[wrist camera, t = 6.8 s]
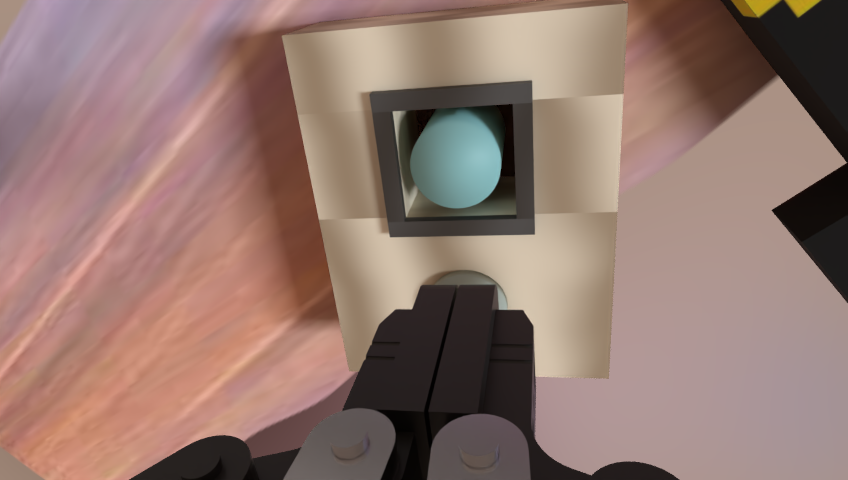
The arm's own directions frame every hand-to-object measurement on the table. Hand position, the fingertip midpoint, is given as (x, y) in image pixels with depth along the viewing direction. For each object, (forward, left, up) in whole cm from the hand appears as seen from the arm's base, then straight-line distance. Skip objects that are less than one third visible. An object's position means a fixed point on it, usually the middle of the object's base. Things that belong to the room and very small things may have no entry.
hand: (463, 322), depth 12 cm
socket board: (+2, +5, -20) cm, 20 cm away
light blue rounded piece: (+2, +2, -20) cm, 20 cm away
